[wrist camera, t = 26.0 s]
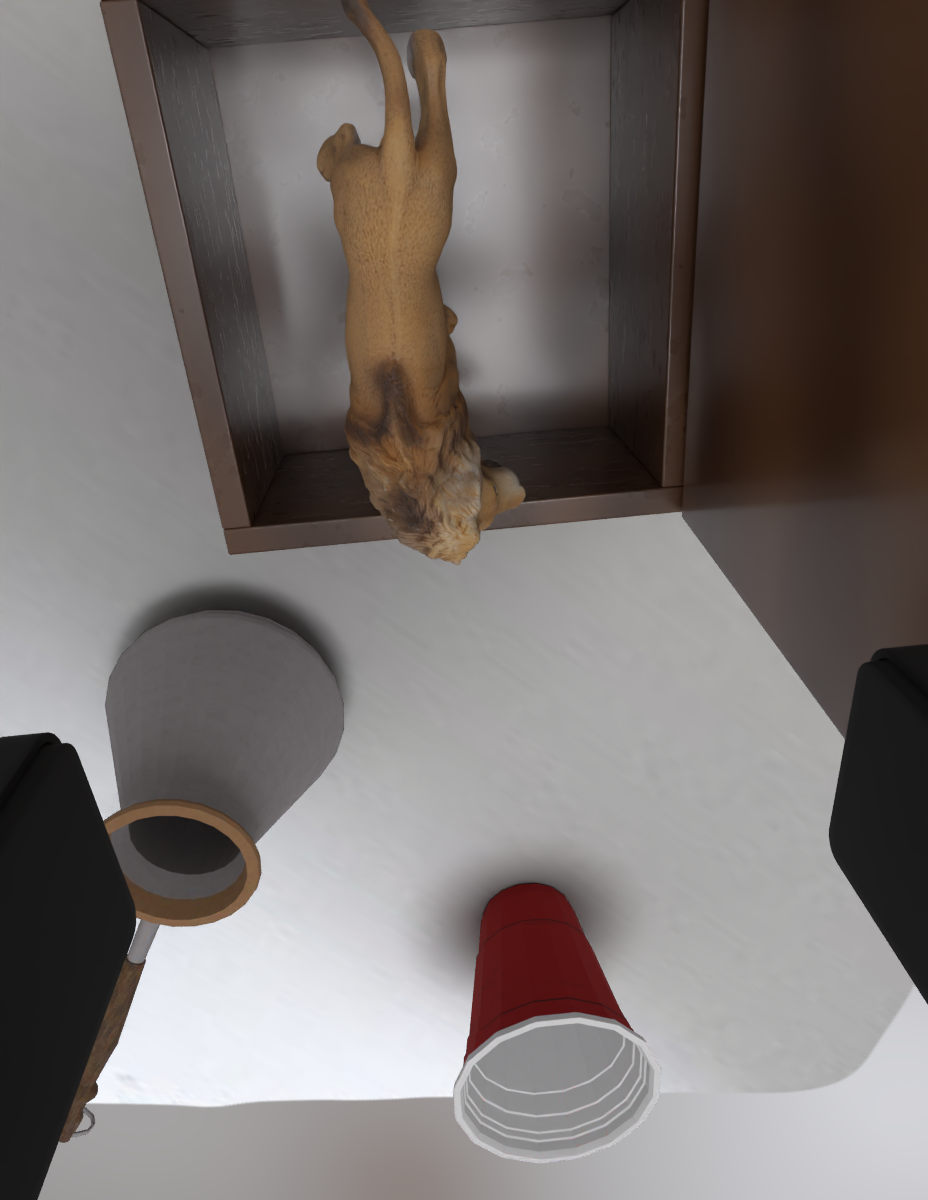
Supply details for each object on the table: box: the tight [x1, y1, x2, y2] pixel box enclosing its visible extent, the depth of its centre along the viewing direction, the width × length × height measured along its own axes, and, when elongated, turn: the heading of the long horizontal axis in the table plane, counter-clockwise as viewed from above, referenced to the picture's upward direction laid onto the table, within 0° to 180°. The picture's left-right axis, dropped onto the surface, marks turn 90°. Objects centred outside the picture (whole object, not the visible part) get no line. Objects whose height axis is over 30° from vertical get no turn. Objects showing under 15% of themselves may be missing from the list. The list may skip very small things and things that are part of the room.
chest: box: [100, 0, 710, 555], centre depth 29 cm, size 16×17×10 cm
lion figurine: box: [317, 0, 526, 565], centre depth 23 cm, size 15×5×9 cm, turn 12°
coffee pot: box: [59, 610, 344, 1143], centre depth 37 cm, size 21×12×15 cm, turn 154°
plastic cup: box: [453, 883, 661, 1163], centre depth 46 cm, size 11×11×12 cm
